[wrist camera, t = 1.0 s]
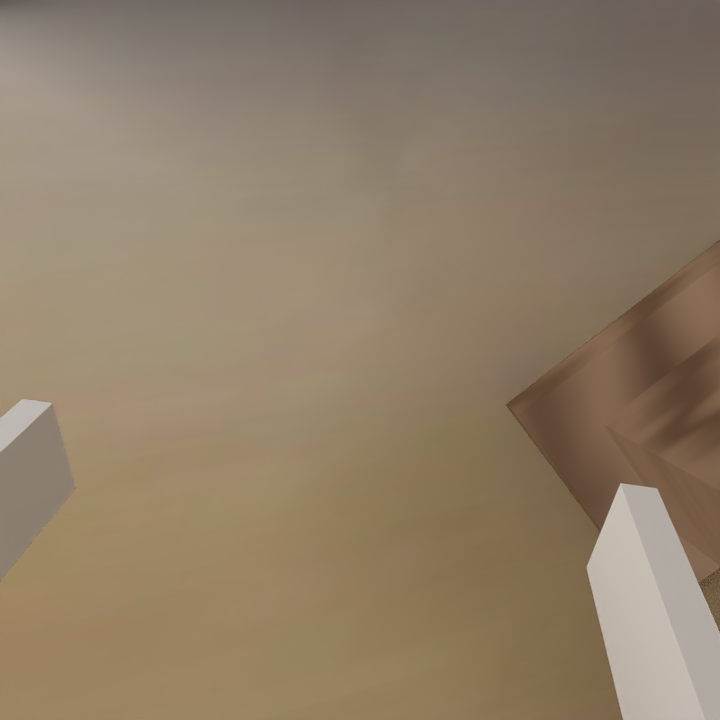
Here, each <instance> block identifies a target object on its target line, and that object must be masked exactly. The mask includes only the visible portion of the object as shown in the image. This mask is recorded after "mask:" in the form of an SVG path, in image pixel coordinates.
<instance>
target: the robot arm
mask: <svg viewBox="0 0 720 720" xmlns="http://www.w3.org/2000/svg"><path fill="white" fill-rule="evenodd" d="M75 489H76V487H75V483H74V479H73V476H72V472H71V469H70V465H69V461H68V458H67V454H66V450H65V447H64V443H63V439H62V436H61V432H60V429H59V425H58V421H57V418H56V414H55V410H54V407H53V403H47V402H40V401H33V400H26V399H22V400H21V401H20V402H19V403H17V404H16V405H15V406H14V407H13V408H12V409H11V410H9V411H8V412H7V413H6V414H5V415H4V416H2V417H1V418H0V581H1V579H2V578H3V577H4V576H5V575H6V573H7V572H8V571H9V570H10V568H11V567H12V566H13V565H14V563H15V562H16V561H17V560H18V559H19V557H20V556H21V555H22V554H23V552H24V551H25V550H26V549H27V548H28V546H29V545H30V544H31V543H32V541H33V540H34V539H35V538H36V537H37V535H38V534H39V533H40V532H41V530H42V529H43V528H44V527H45V526H46V524H47V523H48V522H49V521H50V519H51V518H52V517H53V516H54V515H55V513H56V512H57V511H58V510H59V508H60V507H61V506H62V505H63V504H64V502H65V501H66V500H67V499H68V497H69V496H70V495H71V494H72V493H73V491H74V490H75ZM586 568H587V572H588V576H589V580H590V584H591V588H592V593H593V597H594V601H595V605H596V609H597V613H598V618H599V622H600V626H601V630H602V634H603V638H604V642H605V647H606V651H607V655H608V659H609V663H610V667H611V672H612V676H613V680H614V684H615V688H616V692H617V696H618V701H619V705H620V709H621V713H622V717H623V720H720V632H719V630H718V627H717V625H716V623H715V621H714V618H713V616H712V614H711V611H710V609H709V607H708V604H707V602H706V600H705V597H704V595H703V593H702V591H701V588H700V586H699V584H698V581H697V579H696V577H695V574H694V572H693V570H692V568H691V565H690V563H689V561H688V558H687V556H686V554H685V551H684V549H683V547H682V544H681V542H680V540H679V538H678V535H677V533H676V531H675V528H674V526H673V524H672V521H671V519H670V517H669V515H668V512H667V510H666V508H665V505H664V503H663V501H662V498H661V496H660V494H659V492H658V489H657V488H651V487H644V486H637V485H630V484H623V483H620V486H619V488H618V490H617V493H616V495H615V498H614V500H613V503H612V505H611V508H610V510H609V513H608V515H607V518H606V520H605V523H604V525H603V528H602V530H601V533H600V535H599V538H598V540H597V543H596V545H595V548H594V550H593V553H592V555H591V557H590V560H589V562H588V565H587V567H586Z"/></svg>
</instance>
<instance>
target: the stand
mask: <svg viewBox="0 0 720 720" xmlns="http://www.w3.org/2000/svg"><path fill="white" fill-rule="evenodd" d="M506 406H507V407H508V408H509V410H510V411H511V412H512V414H513V415H514V416H515V418H516V419H517V420H518V422H519V423H520V424H521V426H522V427H523V428H524V430H525V431H526V432H527V434H528V435H529V437H530V438H531V439H532V441H533V442H534V443H535V445H536V446H537V447H538V449H539V450H540V451H541V453H542V454H543V455H544V457H545V458H546V459H547V461H548V462H549V463H550V465H551V466H552V467H553V469H554V470H555V472H556V473H557V474H558V476H559V477H560V478H561V480H562V481H563V482H564V484H565V485H566V486H567V488H568V489H569V490H570V492H571V493H572V494H573V496H574V497H575V498H576V500H577V501H578V502H579V504H580V505H581V506H582V508H583V509H584V511H585V512H586V513H587V515H588V516H589V517H590V519H591V520H592V521H593V523H594V524H595V525H596V527H597V528H598V529H599V531H600V532H601V530H602V528H603V525H604V523H605V520H606V518H607V515H608V513H609V510H610V508H611V505H612V503H613V500H614V498H615V495H616V493H617V490H618V488H619V486H620V483H623V484H630V485H637V486H644V487H651V488H657V489H658V492H659V494H660V496H661V498H662V501H663V503H664V505H665V508H666V510H667V512H668V515H669V517H670V519H671V521H672V524H673V526H674V528H675V531H676V533H677V535H678V538H679V540H680V542H681V544H682V547H683V549H684V551H685V554H686V556H687V558H688V561H689V563H690V565H691V568H692V570H693V572H694V574H695V577H696V579H697V581H698V583H700V582H701V581H702V580H704V579H705V578H706V577H708V576H709V575H710V574H712V573H713V572H714V571H716V570H717V569H718V568H720V240H719V241H718V242H717V243H716V244H714V245H713V246H712V247H710V248H709V249H708V250H706V251H705V252H704V253H703V254H701V255H700V256H699V257H697V258H696V259H695V260H693V261H692V262H691V263H690V264H688V265H687V266H686V267H684V268H683V269H682V270H681V271H679V272H678V273H677V274H675V275H674V276H673V277H671V278H670V279H669V280H668V281H666V282H665V283H664V284H662V285H661V286H660V287H658V288H657V289H656V290H655V291H653V292H652V293H651V294H649V295H648V296H647V297H645V298H644V299H643V300H642V301H640V302H639V303H638V304H636V305H635V306H634V307H632V308H631V309H630V310H629V311H627V312H626V313H625V314H623V315H622V316H621V317H619V318H618V319H617V320H616V321H614V322H613V323H612V324H610V325H609V326H608V327H606V328H605V329H604V330H603V331H601V332H600V333H599V334H597V335H596V336H595V337H594V338H592V339H591V340H590V341H588V342H587V343H586V344H584V345H583V346H582V347H581V348H579V349H578V350H577V351H575V352H574V353H573V354H571V355H570V356H569V357H568V358H566V359H565V360H564V361H562V362H561V363H560V364H558V365H557V366H556V367H555V368H553V369H552V370H551V371H549V372H548V373H547V374H545V375H544V376H543V377H542V378H540V379H539V380H538V381H536V382H535V383H534V384H532V385H531V386H530V387H529V388H527V389H526V390H525V391H523V392H522V393H521V394H519V395H518V396H517V397H516V398H514V399H513V400H512V401H510V402H509V403H508V404H507V405H506Z"/></svg>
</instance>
